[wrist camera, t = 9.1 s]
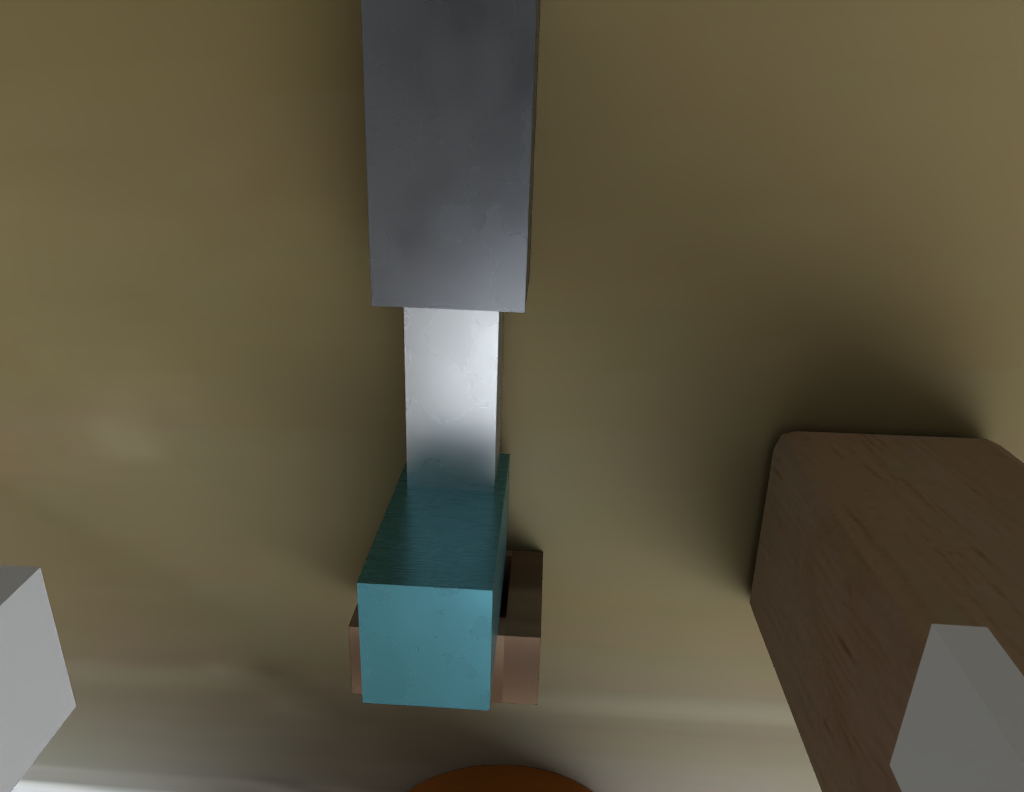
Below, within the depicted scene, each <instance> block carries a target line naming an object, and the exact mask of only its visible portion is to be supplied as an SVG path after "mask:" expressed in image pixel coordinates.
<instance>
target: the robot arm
mask: <svg viewBox="0 0 1024 792" xmlns="http://www.w3.org/2000/svg"><path fill="white" fill-rule="evenodd" d="M75 707H76V704H75V700H74V696H73V692H72V689H71V685H70V681H69V677H68V673H67V669H66V665H65V661H64V658H63V654H62V650H61V646H60V642H59V638H58V634H57V630H56V627H55V623H54V619H53V615H52V611H51V607H50V603H49V599H48V596H47V592H46V588H45V584H44V580H43V576H42V572H41V568H40V567H25V566H9V565H0V792H11V791H12V790H13V788H14V787H15V786H16V784H17V783H18V782H19V781H20V779H21V778H22V777H23V775H24V774H25V773H26V771H27V770H28V769H29V767H30V766H31V765H32V763H33V762H34V761H35V760H36V758H37V757H38V756H39V754H40V753H41V752H42V750H43V749H44V748H45V746H46V745H47V744H48V743H49V741H50V740H51V739H52V737H53V736H54V735H55V733H56V732H57V731H58V729H59V728H60V727H61V725H62V724H63V723H64V722H65V720H66V719H67V718H68V716H69V715H70V714H71V712H72V711H73V710H74V708H75ZM890 767H891V769H892V771H893V774H894V776H895V778H896V780H897V782H898V785H899V787H900V789H901V791H902V792H1024V676H1023V675H1022V673H1021V672H1020V671H1019V669H1018V668H1017V667H1016V665H1015V664H1014V663H1013V661H1012V660H1011V659H1010V657H1009V656H1008V655H1007V653H1006V652H1005V650H1004V649H1003V648H1002V646H1001V645H1000V644H999V642H998V641H997V640H996V638H995V637H994V636H993V634H992V633H991V632H990V630H989V629H988V628H987V627H977V626H961V625H945V624H932V625H931V628H930V632H929V635H928V638H927V642H926V645H925V648H924V652H923V655H922V658H921V662H920V665H919V668H918V672H917V675H916V678H915V682H914V685H913V688H912V692H911V695H910V698H909V702H908V705H907V708H906V712H905V715H904V718H903V722H902V725H901V728H900V732H899V735H898V738H897V742H896V745H895V748H894V752H893V755H892V759H891V762H890Z"/></svg>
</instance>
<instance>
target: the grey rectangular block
mask: <svg viewBox="0 0 1024 792" xmlns="http://www.w3.org/2000/svg"><path fill="white" fill-rule="evenodd" d="M361 17H362V46H363V75H364V104H365V132H366V161H367V190H368V218H369V247H370V276H371V305H372V306H385V307H408V308H431V309H454V310H477V311H500V312H523V313H525V307H526V299H527V292H528V285H529V274H530V249H531V224H532V199H533V173H534V148H535V123H536V98H537V72H538V47H539V22H540V0H361Z"/></svg>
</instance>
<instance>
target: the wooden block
mask: <svg viewBox="0 0 1024 792" xmlns="http://www.w3.org/2000/svg"><path fill="white" fill-rule="evenodd" d="M750 605H751V607H752V610H753V613H754V616H755V619H756V621H757V624H758V627H759V629H760V632H761V634H762V637H763V640H764V642H765V645H766V647H767V650H768V653H769V655H770V658H771V660H772V663H773V666H774V668H775V671H776V673H777V676H778V679H779V681H780V684H781V686H782V689H783V691H784V694H785V697H786V699H787V702H788V704H789V707H790V710H791V712H792V715H793V717H794V720H795V723H796V725H797V728H798V730H799V733H800V736H801V738H802V741H803V743H804V746H805V749H806V751H807V754H808V756H809V759H810V762H811V764H812V767H813V769H814V772H815V775H816V777H817V780H818V782H819V785H820V788H821V790H822V792H902V791H901V789H900V787H899V785H898V782H897V780H896V778H895V776H894V774H893V771H892V769H891V767H890V762H891V759H892V755H893V752H894V748H895V745H896V742H897V738H898V735H899V732H900V728H901V725H902V722H903V718H904V715H905V712H906V708H907V705H908V702H909V698H910V695H911V692H912V688H913V685H914V682H915V678H916V675H917V672H918V668H919V665H920V662H921V658H922V655H923V652H924V648H925V645H926V642H927V638H928V635H929V632H930V628H931V625H932V624H945V625H961V626H977V627H987V628H988V629H989V630H990V632H991V633H992V634H993V636H994V637H995V638H996V640H997V641H998V642H999V644H1000V645H1001V646H1002V648H1003V649H1004V650H1005V652H1006V653H1007V655H1008V656H1009V657H1010V659H1011V660H1012V661H1013V663H1014V664H1015V665H1016V667H1017V668H1018V669H1019V671H1020V672H1021V673H1022V675H1023V676H1024V463H1022V462H1021V461H1020V460H1019V459H1017V458H1016V457H1015V456H1013V455H1012V454H1011V453H1010V452H1008V451H1007V450H1006V449H1004V448H1003V447H1002V446H1000V445H998V444H996V443H994V442H992V441H989V440H987V439H978V438H953V437H928V436H903V435H878V434H853V433H828V432H803V431H793V432H789V433H785V434H781V436H780V438H779V440H778V442H777V443H776V446H775V448H774V451H773V456H772V463H771V469H770V476H769V482H768V488H767V495H766V501H765V507H764V514H763V520H762V527H761V533H760V539H759V546H758V552H757V558H756V565H755V571H754V578H753V584H752V590H751V597H750Z"/></svg>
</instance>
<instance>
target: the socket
mask: <svg viewBox="0 0 1024 792" xmlns="http://www.w3.org/2000/svg"><path fill="white" fill-rule="evenodd" d="M542 570H543V552H534V551H516V550H507V551H506V560H505V569H504V579H503V588H502V598H501V607H500V616H499V626H498V635H497V645H496V654H495V663H494V673H493V682H492V692H491V701H490V702H499V703H515V704H531V705H537V698H538V680H539V661H540V643H541V609H542ZM349 642H350V660H351V679H352V693H354V694H362V679H361V658H360V637H359V616H358V604H357V607H356V609H355V612H354V614H353V617H352V619H351V622H350V625H349Z"/></svg>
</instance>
